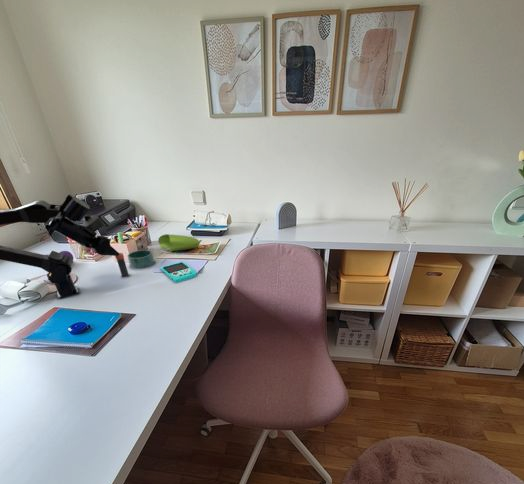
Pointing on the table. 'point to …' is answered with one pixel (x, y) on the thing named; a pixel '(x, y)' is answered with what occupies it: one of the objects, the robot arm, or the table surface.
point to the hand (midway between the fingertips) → (113, 252)
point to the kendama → (65, 254)
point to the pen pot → (141, 259)
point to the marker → (122, 265)
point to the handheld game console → (179, 271)
